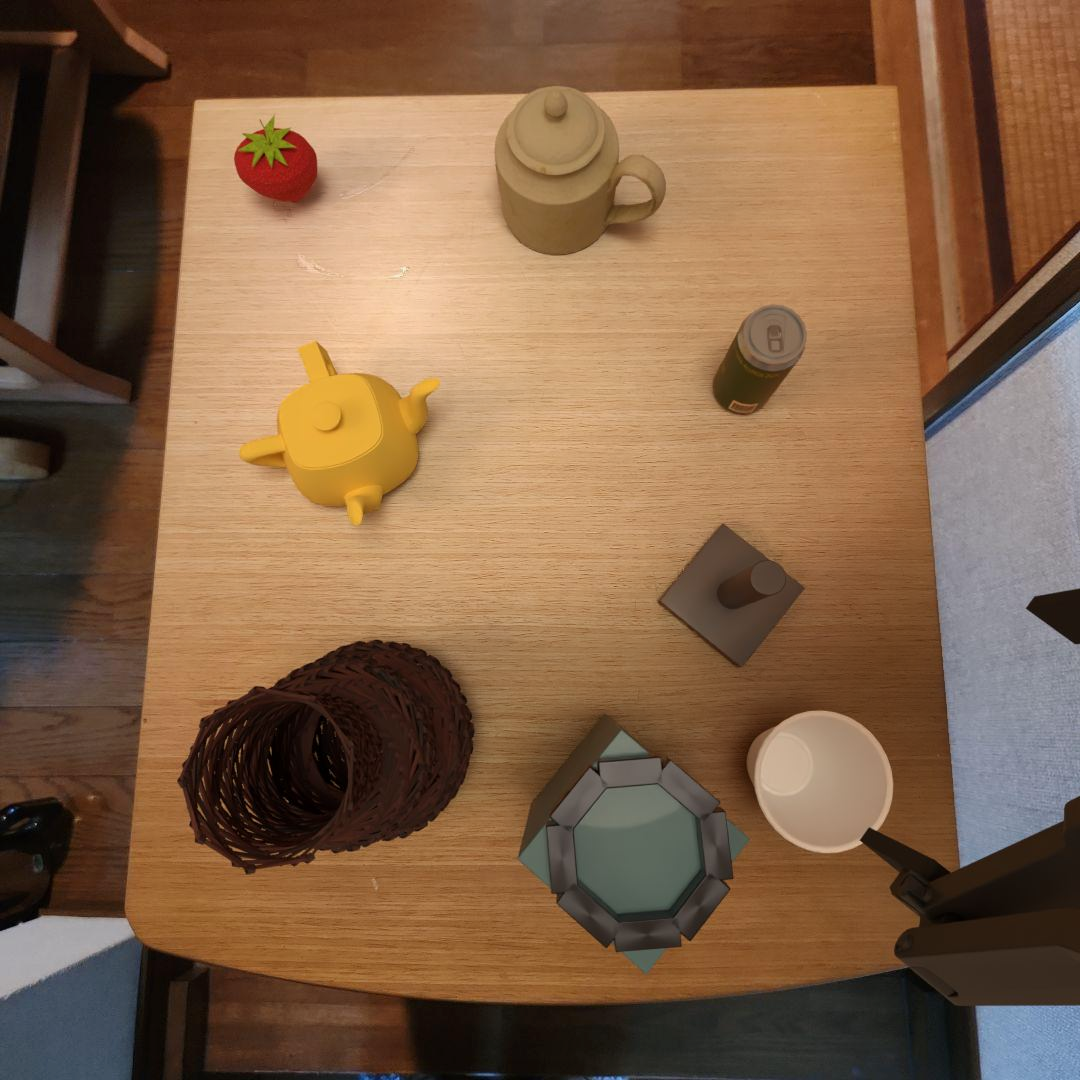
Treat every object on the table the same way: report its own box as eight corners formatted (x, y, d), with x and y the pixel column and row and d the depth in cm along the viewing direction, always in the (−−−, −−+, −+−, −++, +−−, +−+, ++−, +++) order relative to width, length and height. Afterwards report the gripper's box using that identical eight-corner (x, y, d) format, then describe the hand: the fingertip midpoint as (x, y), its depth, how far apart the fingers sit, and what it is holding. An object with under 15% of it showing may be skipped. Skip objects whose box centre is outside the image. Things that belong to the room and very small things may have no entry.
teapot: (385, 546, 71) (356, 526, 61) (260, 480, 72) (213, 450, 62) (457, 417, 73) (441, 378, 63) (334, 356, 74) (299, 308, 64)
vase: (484, 643, 69) (426, 622, 39) (480, 824, 66) (415, 946, 37) (313, 641, 70) (128, 619, 40) (303, 821, 67) (97, 939, 37)
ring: (760, 836, 47) (767, 841, 45) (650, 980, 46) (653, 991, 44) (623, 719, 48) (625, 721, 47) (512, 856, 47) (511, 863, 45)
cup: (857, 734, 67) (914, 746, 56) (814, 844, 65) (864, 878, 55) (749, 685, 68) (785, 687, 57) (705, 792, 66) (733, 815, 56)
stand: (695, 790, 66) (750, 839, 47) (621, 884, 65) (646, 975, 46) (604, 712, 68) (621, 729, 48) (530, 804, 67) (517, 858, 47)
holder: (800, 589, 69) (856, 569, 56) (738, 668, 68) (780, 666, 55) (719, 526, 70) (756, 491, 57) (657, 602, 69) (679, 585, 56)
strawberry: (258, 174, 78) (213, 101, 68) (333, 167, 78) (299, 94, 68) (258, 228, 77) (213, 162, 67) (334, 221, 76) (300, 154, 67)
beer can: (771, 415, 72) (812, 365, 60) (713, 417, 72) (742, 367, 60) (767, 360, 73) (807, 300, 61) (709, 362, 73) (738, 302, 61)
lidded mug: (652, 151, 77) (673, 27, 62) (655, 255, 75) (677, 152, 60) (501, 155, 77) (487, 32, 62) (501, 257, 75) (486, 156, 60)
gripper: (1639, 242, 17) (1052, 481, 38) (1005, 1222, 14) (747, 899, 35) (1991, 445, 16) (1188, 576, 37) (1382, 1545, 13) (886, 1015, 34)
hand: (972, 734), depth 36 cm, fingers open, 13 cm apart
